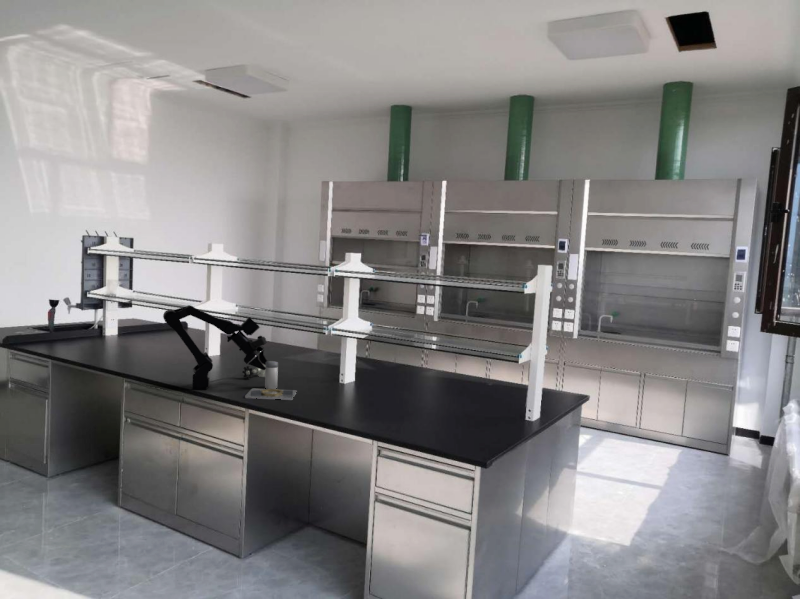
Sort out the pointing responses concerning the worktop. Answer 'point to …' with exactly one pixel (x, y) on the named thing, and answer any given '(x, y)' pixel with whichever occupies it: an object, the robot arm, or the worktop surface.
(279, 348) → the worktop surface
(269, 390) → the shaft mount
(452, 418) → the worktop surface
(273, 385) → the domed cap cylinder
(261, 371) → the valve
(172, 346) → the worktop surface
